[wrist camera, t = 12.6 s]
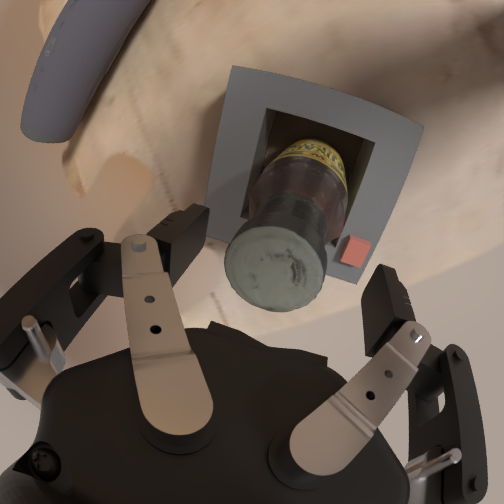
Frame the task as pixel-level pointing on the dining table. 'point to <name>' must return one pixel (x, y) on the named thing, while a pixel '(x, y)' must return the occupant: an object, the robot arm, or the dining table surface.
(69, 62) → the bluetooth speaker
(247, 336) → the robot arm
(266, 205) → the sauce bottle
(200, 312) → the dining table surface
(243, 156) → the bottle socket block
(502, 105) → the dining table surface
